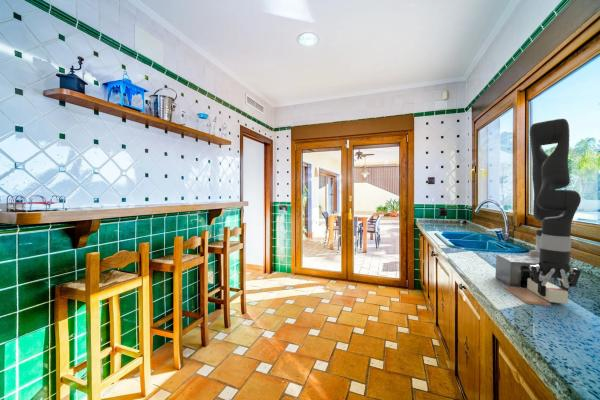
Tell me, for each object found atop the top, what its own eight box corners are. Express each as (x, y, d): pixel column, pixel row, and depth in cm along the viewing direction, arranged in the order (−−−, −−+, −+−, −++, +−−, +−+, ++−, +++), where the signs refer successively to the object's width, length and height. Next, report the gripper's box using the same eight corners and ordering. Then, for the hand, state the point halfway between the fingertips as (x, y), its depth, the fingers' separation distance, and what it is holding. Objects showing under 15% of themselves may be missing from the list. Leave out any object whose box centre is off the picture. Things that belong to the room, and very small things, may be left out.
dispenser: (495, 276, 114) (496, 254, 114) (534, 280, 110) (535, 256, 110) (510, 287, 102) (511, 262, 101) (554, 291, 98) (555, 265, 98)
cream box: (527, 288, 98) (527, 277, 98) (542, 289, 97) (543, 279, 97) (549, 301, 87) (550, 290, 87) (567, 303, 86) (568, 291, 85)
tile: (505, 288, 101) (505, 286, 101) (526, 290, 99) (526, 288, 99) (525, 303, 88) (525, 300, 88) (550, 305, 86) (550, 303, 86)
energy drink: (548, 280, 110) (549, 252, 110) (533, 279, 111) (535, 252, 111) (539, 276, 116) (540, 250, 115) (525, 275, 117) (526, 249, 116)
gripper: (572, 247, 90) (569, 294, 91) (523, 244, 94) (521, 290, 95) (590, 252, 83) (586, 303, 84) (536, 248, 87) (533, 298, 87)
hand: (552, 296), depth 89 cm, fingers closed on cream box, 5 cm apart
